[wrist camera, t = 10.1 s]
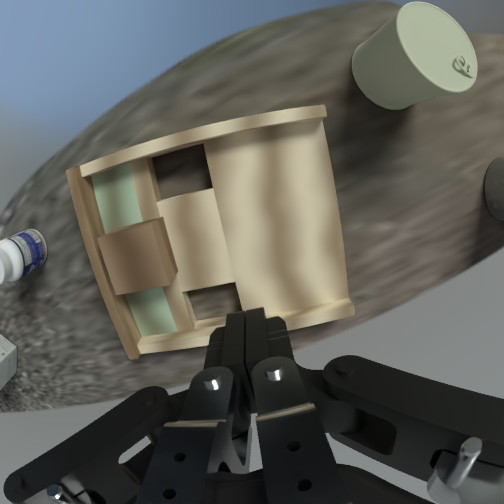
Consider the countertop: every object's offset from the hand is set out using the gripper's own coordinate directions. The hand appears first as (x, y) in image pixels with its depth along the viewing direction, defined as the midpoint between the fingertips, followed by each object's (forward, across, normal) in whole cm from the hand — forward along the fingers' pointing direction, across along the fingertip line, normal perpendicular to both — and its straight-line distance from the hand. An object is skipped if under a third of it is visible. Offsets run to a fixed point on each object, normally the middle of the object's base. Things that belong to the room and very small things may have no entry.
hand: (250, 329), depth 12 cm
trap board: (+21, +4, 0) cm, 21 cm away
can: (+21, -20, -15) cm, 33 cm away
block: (+19, +11, 0) cm, 22 cm away
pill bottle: (+21, +28, -4) cm, 36 cm away
